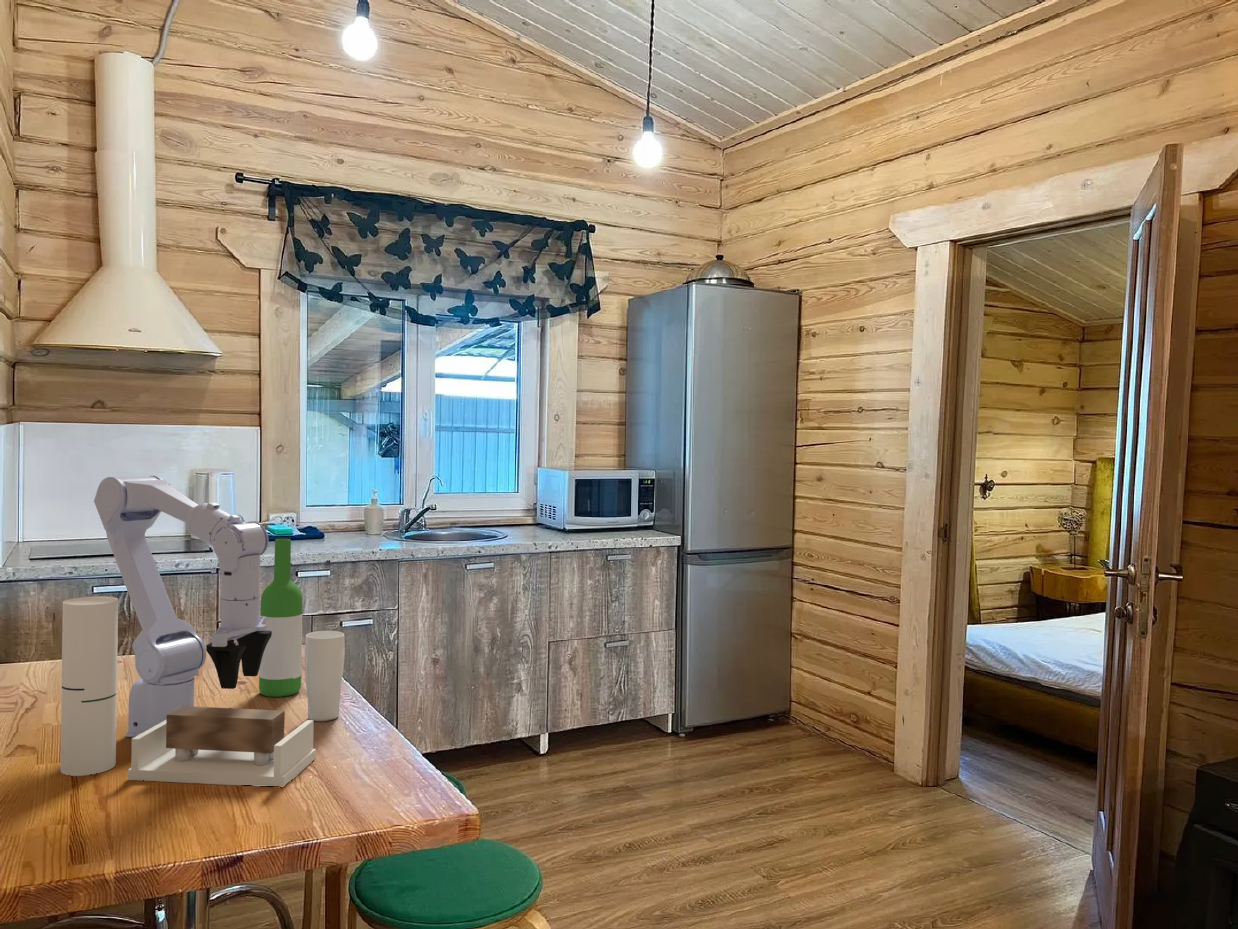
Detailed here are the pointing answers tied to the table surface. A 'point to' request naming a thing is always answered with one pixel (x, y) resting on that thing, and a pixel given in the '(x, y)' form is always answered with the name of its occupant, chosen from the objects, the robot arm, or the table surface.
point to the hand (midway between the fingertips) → (239, 681)
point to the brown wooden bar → (224, 729)
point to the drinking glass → (324, 673)
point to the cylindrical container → (89, 685)
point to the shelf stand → (220, 760)
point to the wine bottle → (282, 629)
